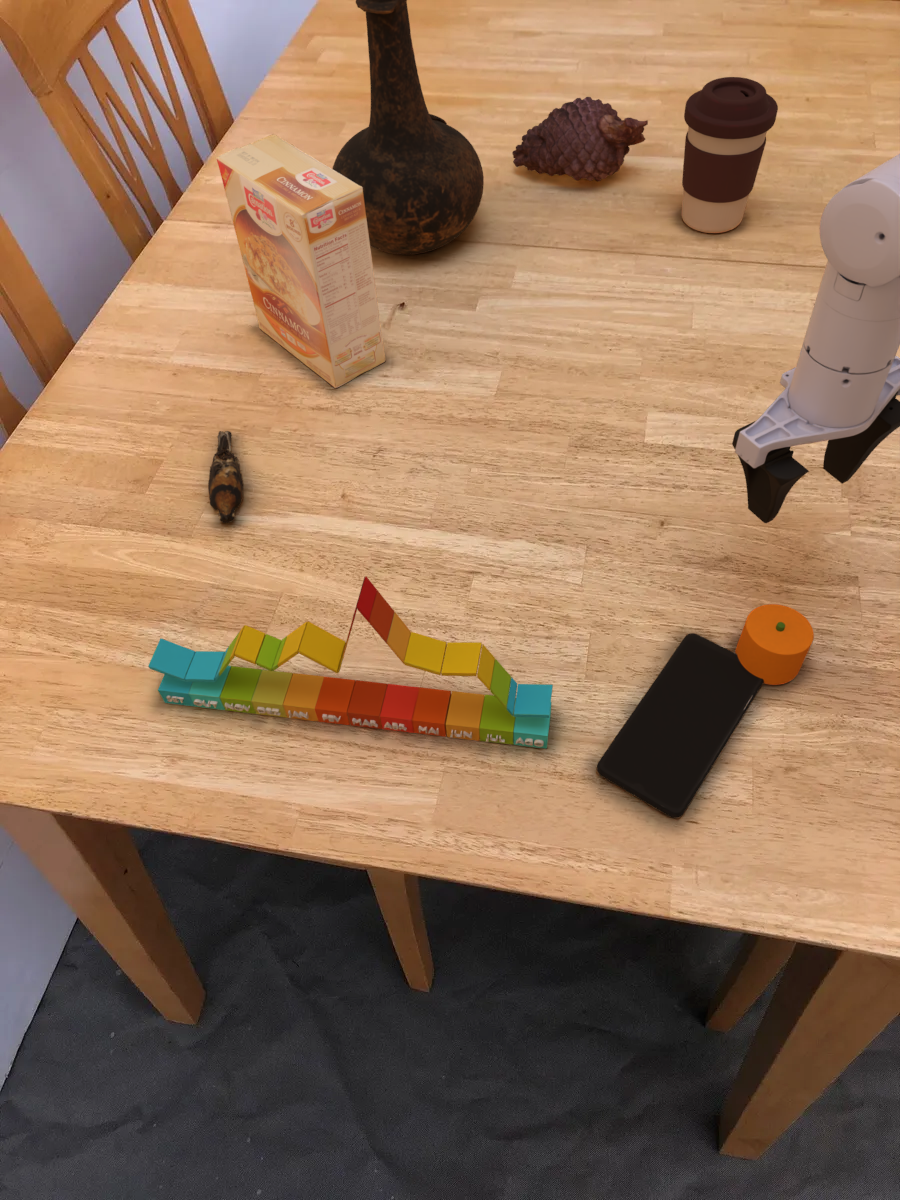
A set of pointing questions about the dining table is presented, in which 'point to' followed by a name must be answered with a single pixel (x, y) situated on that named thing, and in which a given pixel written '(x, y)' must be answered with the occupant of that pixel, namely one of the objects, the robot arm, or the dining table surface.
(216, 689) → the chart
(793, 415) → the robot arm
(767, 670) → the mandarin
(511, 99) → the dining table surface
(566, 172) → the pine cone
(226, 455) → the bird model
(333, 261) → the coffeecake box
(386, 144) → the dark brown vase
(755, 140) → the coffee cup
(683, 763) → the smartphone
